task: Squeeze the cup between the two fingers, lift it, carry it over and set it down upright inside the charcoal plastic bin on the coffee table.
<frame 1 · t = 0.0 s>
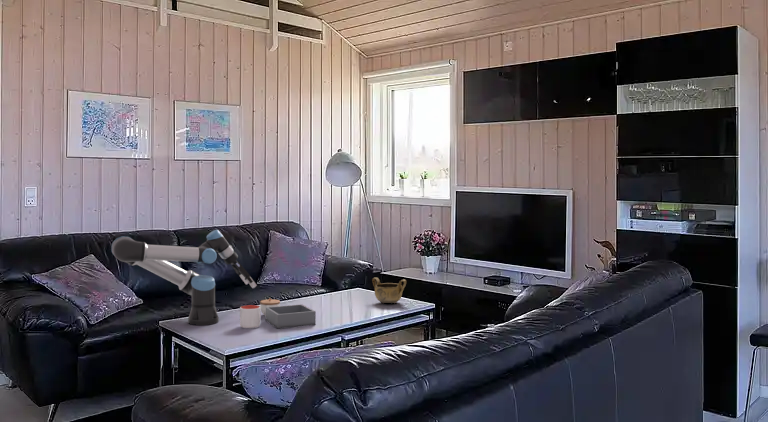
hand: (251, 285, 362), 15 cm above the table, tool tilted 35°, fingers open, 13 cm apart
cup: (250, 327, 328), on the table
bin: (290, 322, 338), on the table
lidded jar: (270, 315, 356), on the table
ceramic bowl: (388, 303, 392), on the table
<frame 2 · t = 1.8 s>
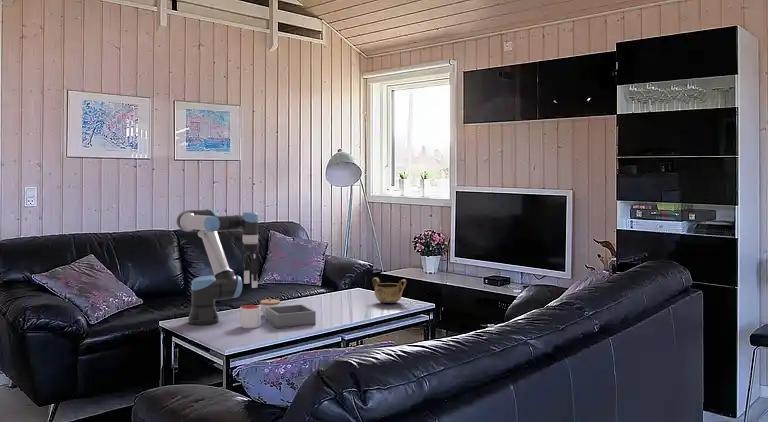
hand: (250, 285, 328), 21 cm above the table, tool pointing down, fingers open, 13 cm apart
nothing on the table moved.
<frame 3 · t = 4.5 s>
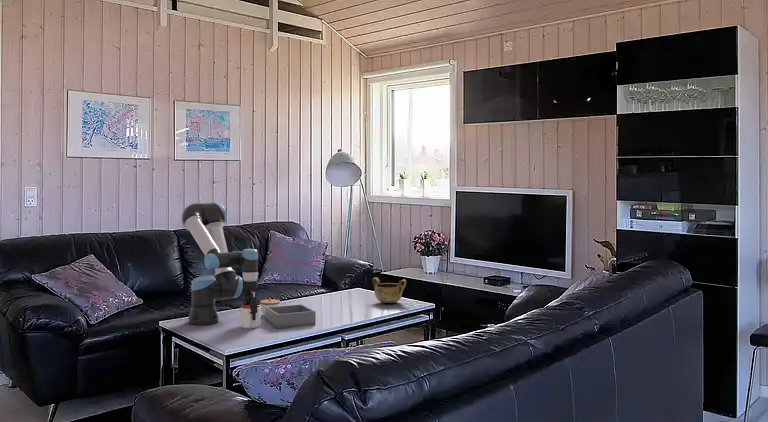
hand: (250, 324, 328), 1 cm above the table, tool pointing down, fingers closed on cup, 10 cm apart
cup: (250, 327, 328), on the table, touching gripper
everything else where it was.
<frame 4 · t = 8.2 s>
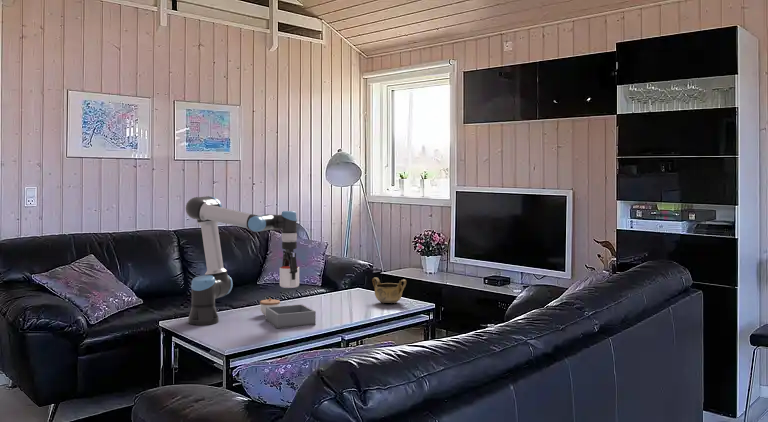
hand: (289, 284, 336), 20 cm above the table, tool pointing down, fingers closed on cup, 10 cm apart
cup: (289, 287, 336), point 19 cm above the table, touching gripper
everything else where it was.
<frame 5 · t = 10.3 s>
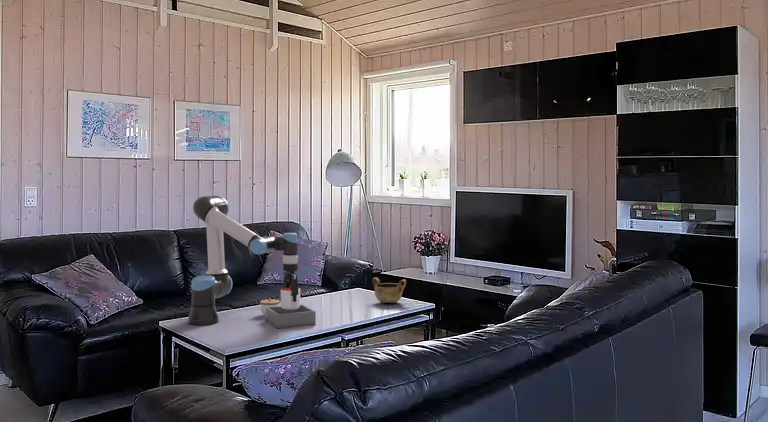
hand: (290, 306, 337), 9 cm above the table, tool pointing down, fingers closed on cup, 10 cm apart
cup: (290, 308, 337), point 7 cm above the table, touching gripper
everything else where it was.
when the fingers open (4 cm above the table, at t = 12.2 s): cup drops 2 cm, resting on bin.
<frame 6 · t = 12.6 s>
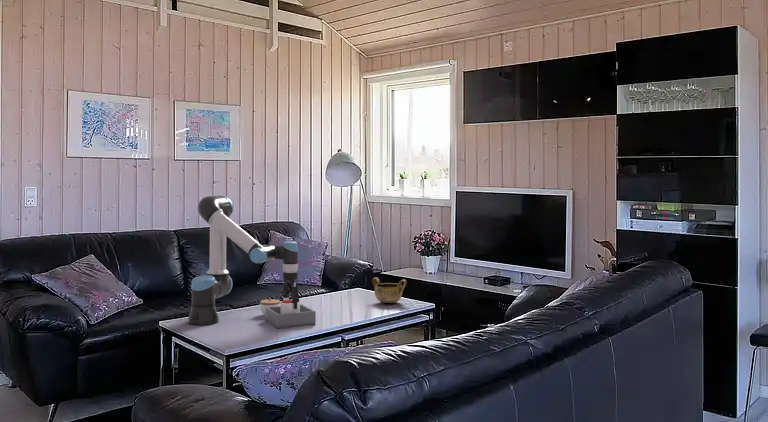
hand: (290, 312, 338), 5 cm above the table, tool pointing down, fingers open, 13 cm apart
cup: (290, 321, 338), point 1 cm above the table, touching bin
everything else where it was.
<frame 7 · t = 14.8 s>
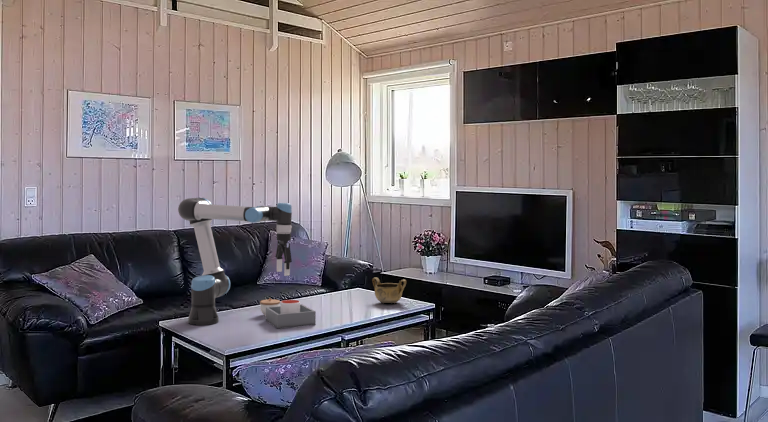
hand: (283, 273, 341), 25 cm above the table, tool pointing down, fingers open, 13 cm apart
nothing on the table moved.
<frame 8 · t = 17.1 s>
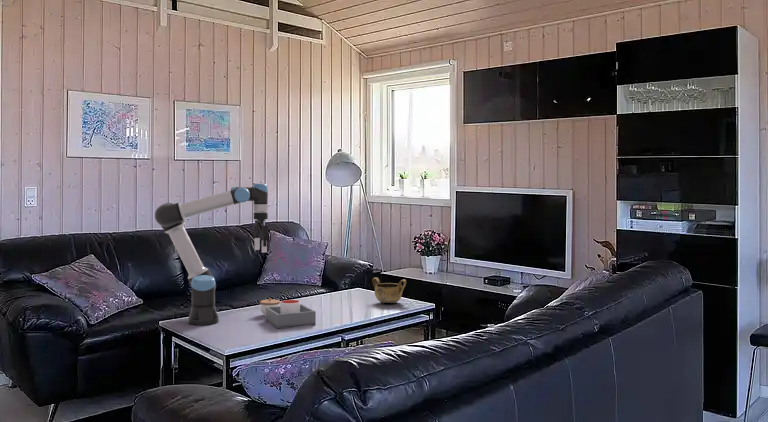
hand: (260, 251, 356), 35 cm above the table, tool pointing down, fingers open, 13 cm apart
nothing on the table moved.
at the end: cup inside the target area on the bin (0.1 cm from its centre), point 0.8 cm above the bin's base; cup tilted 0°; the gripper is holding nothing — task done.
